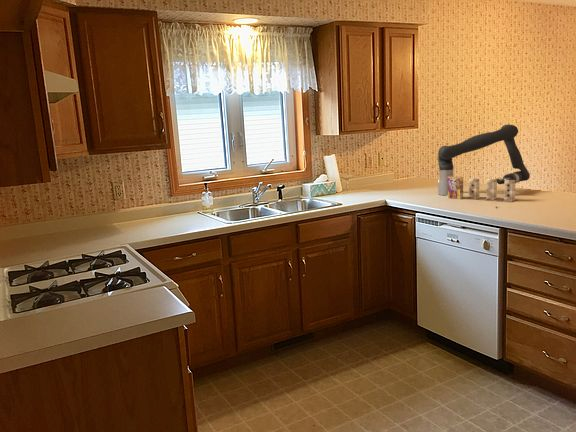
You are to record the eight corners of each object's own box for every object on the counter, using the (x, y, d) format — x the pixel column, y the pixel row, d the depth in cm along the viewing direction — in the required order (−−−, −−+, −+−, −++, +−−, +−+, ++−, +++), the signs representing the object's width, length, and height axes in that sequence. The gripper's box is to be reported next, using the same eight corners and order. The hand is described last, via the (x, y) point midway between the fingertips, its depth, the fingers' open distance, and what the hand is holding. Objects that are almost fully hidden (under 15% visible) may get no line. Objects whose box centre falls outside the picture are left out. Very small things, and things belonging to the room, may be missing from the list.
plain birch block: (486, 199, 303) (486, 179, 301) (489, 198, 306) (489, 178, 304) (493, 199, 300) (493, 180, 298) (496, 198, 303) (496, 179, 301)
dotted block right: (504, 200, 295) (504, 180, 293) (507, 199, 299) (507, 179, 296) (511, 201, 292) (512, 181, 290) (514, 200, 295) (515, 179, 293)
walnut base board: (464, 201, 311) (464, 198, 310) (471, 198, 317) (471, 196, 317) (512, 204, 289) (512, 202, 289) (519, 202, 296) (519, 199, 296)
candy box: (463, 200, 313) (463, 176, 310) (459, 201, 310) (459, 177, 307) (451, 199, 320) (451, 176, 317) (447, 200, 317) (447, 176, 314)
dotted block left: (469, 198, 311) (469, 179, 309) (472, 197, 314) (472, 178, 312) (475, 198, 308) (476, 179, 306) (479, 197, 311) (479, 178, 309)
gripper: (500, 173, 325) (489, 176, 314) (521, 173, 316) (510, 177, 304) (500, 184, 327) (488, 187, 315) (521, 185, 317) (510, 189, 306)
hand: (499, 182), depth 310 cm, fingers closed
